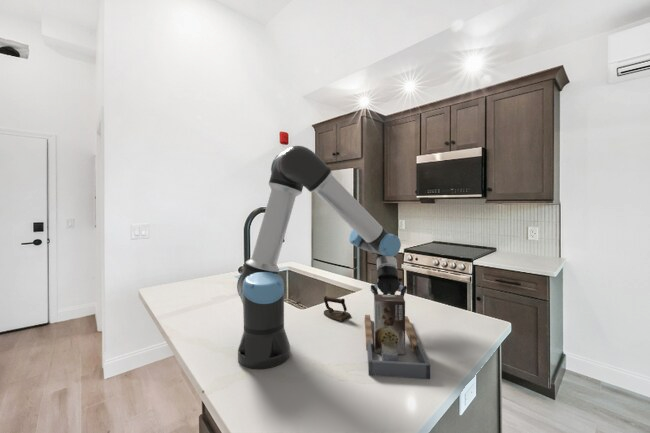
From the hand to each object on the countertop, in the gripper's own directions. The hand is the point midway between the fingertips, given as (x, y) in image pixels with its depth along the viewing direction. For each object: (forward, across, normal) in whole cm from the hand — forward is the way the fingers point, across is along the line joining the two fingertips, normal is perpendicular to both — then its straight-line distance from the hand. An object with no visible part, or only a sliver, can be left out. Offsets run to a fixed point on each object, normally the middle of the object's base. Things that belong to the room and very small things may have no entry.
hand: (391, 333), depth 96 cm
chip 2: (+12, +2, +8) cm, 14 cm away
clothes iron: (-12, +20, -17) cm, 29 cm away
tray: (+11, 0, +6) cm, 12 cm away
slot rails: (-2, 0, -6) cm, 7 cm away
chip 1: (+9, +2, +5) cm, 10 cm away
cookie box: (+5, +1, +1) cm, 6 cm away
